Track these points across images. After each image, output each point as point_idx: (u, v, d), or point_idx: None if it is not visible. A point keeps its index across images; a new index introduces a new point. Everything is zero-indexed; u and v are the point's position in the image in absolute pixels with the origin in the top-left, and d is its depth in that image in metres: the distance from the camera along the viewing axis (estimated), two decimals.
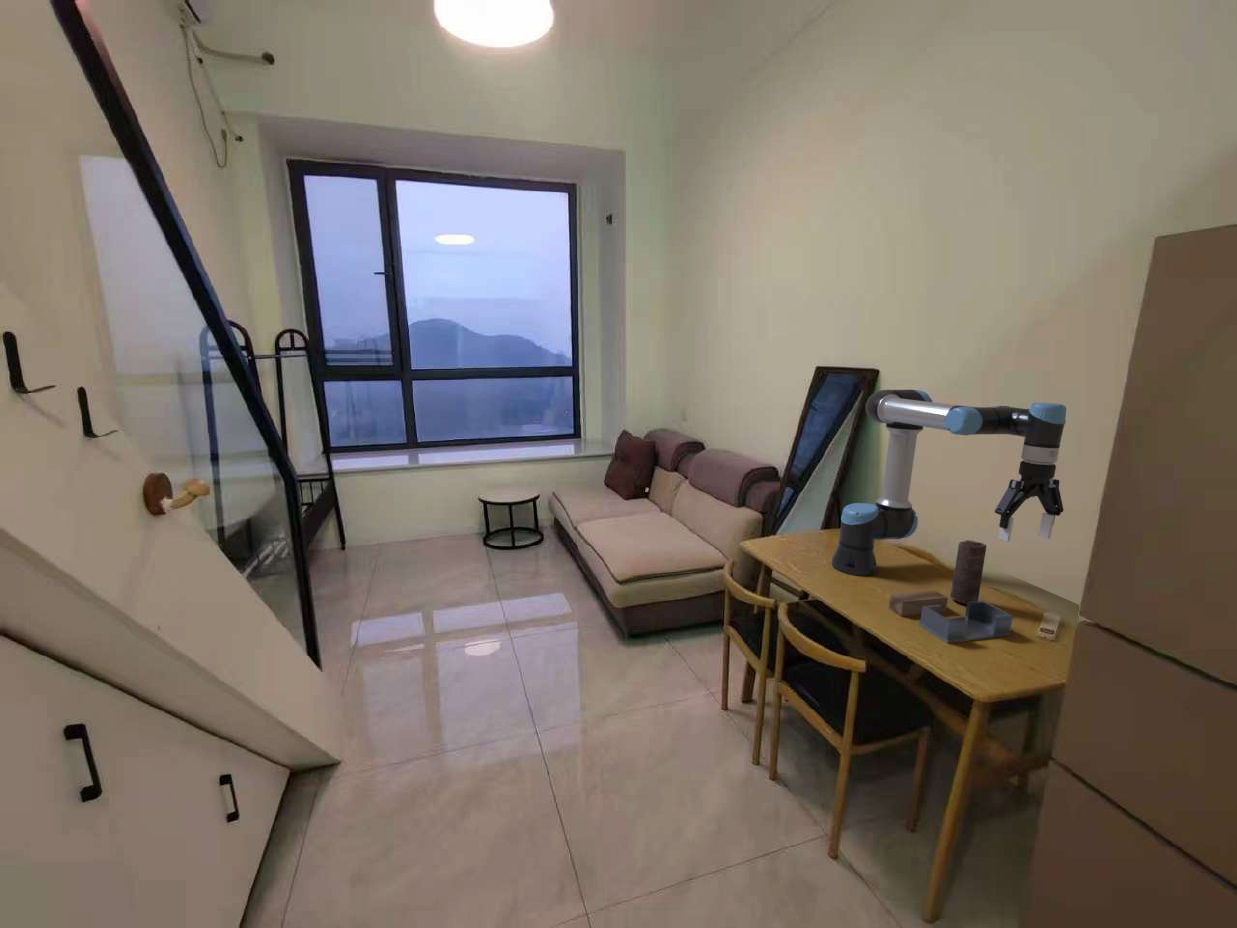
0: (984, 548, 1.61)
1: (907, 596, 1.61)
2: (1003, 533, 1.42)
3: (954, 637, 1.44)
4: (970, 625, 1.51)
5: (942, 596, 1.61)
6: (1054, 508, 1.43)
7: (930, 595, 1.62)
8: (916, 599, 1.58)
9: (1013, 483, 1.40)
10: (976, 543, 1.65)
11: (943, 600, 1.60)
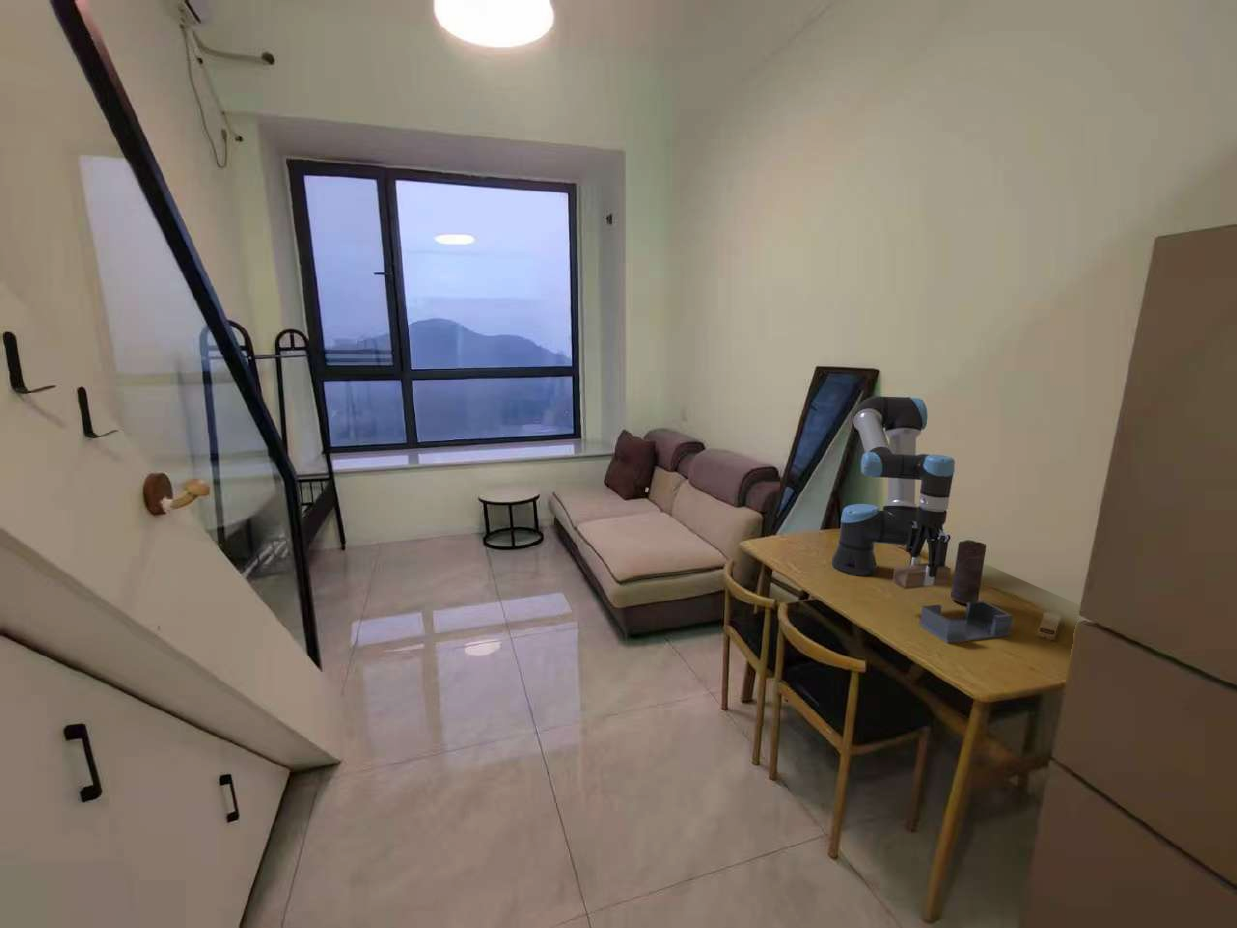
0: (984, 548, 1.61)
1: (911, 568, 1.59)
2: None
3: (954, 637, 1.44)
4: (970, 625, 1.51)
5: (945, 567, 1.60)
6: (931, 559, 1.55)
7: None
8: (920, 571, 1.57)
9: None
10: (976, 543, 1.65)
11: (946, 572, 1.59)
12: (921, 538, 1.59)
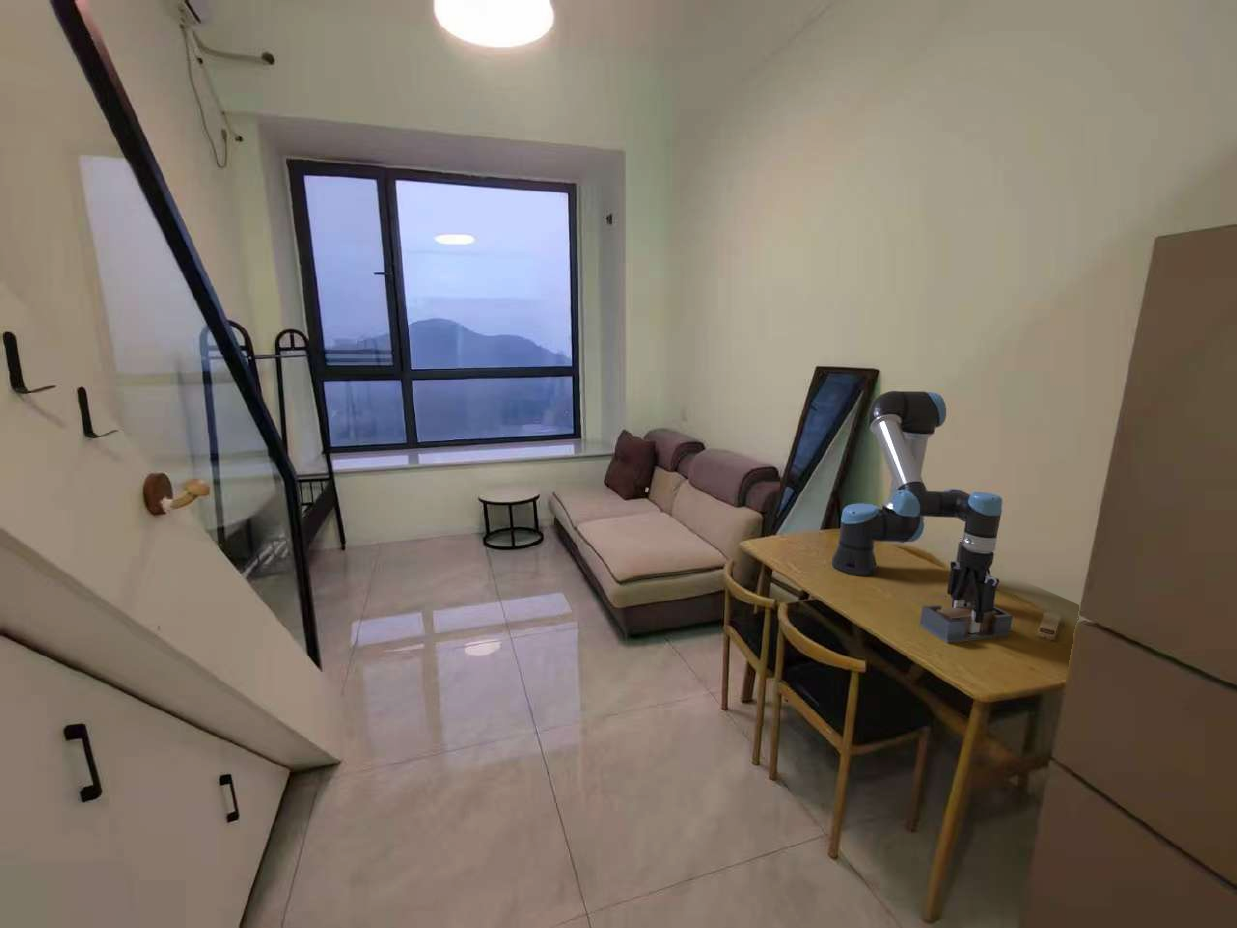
0: None
1: (954, 611, 1.49)
2: None
3: (954, 637, 1.44)
4: None
5: None
6: (977, 603, 1.45)
7: None
8: (965, 615, 1.46)
9: None
10: None
11: (992, 615, 1.49)
12: (965, 580, 1.49)
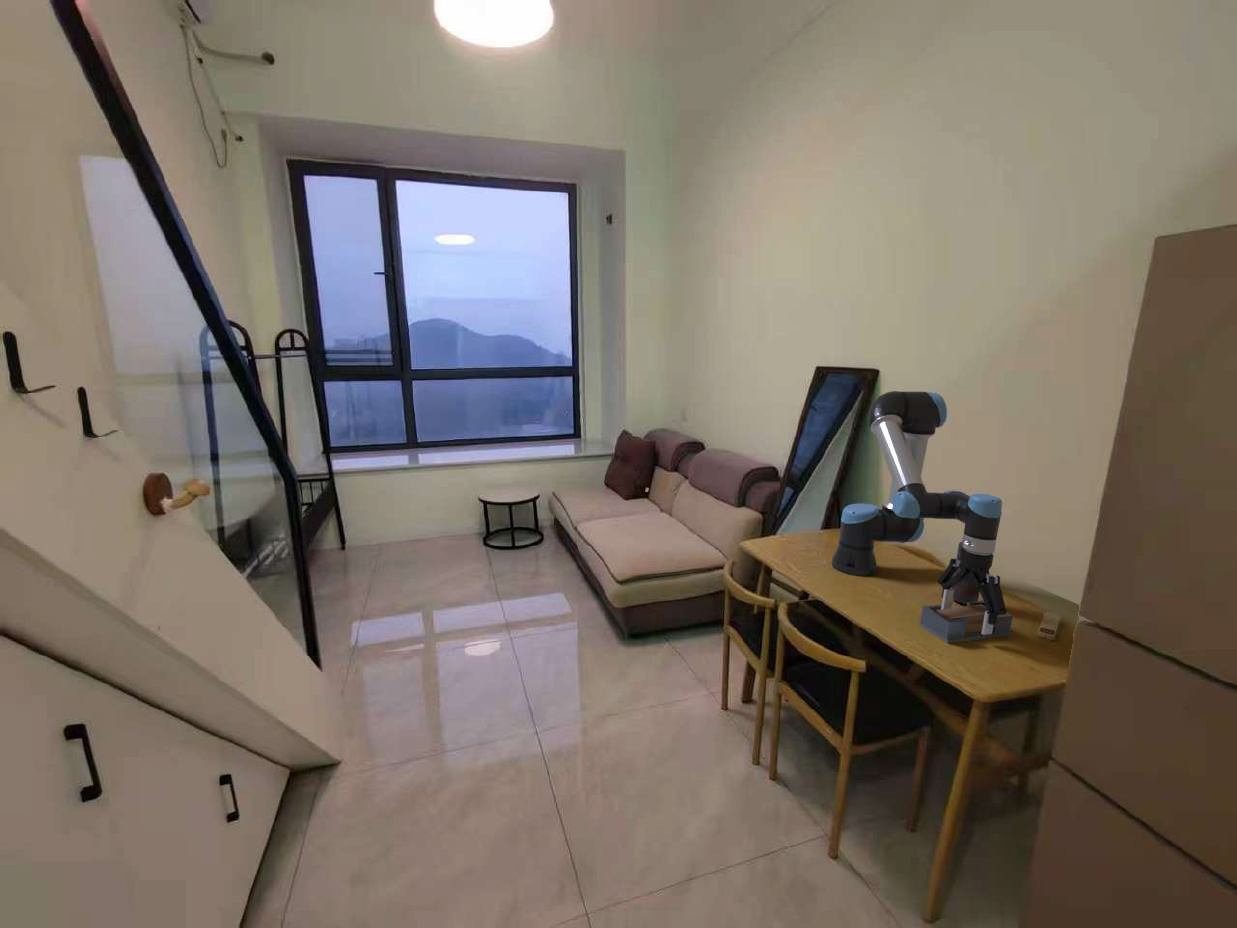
0: None
1: (954, 611, 1.49)
2: None
3: (954, 637, 1.44)
4: None
5: None
6: (988, 604, 1.41)
7: (978, 610, 1.50)
8: (965, 615, 1.46)
9: None
10: None
11: None
12: (960, 578, 1.50)
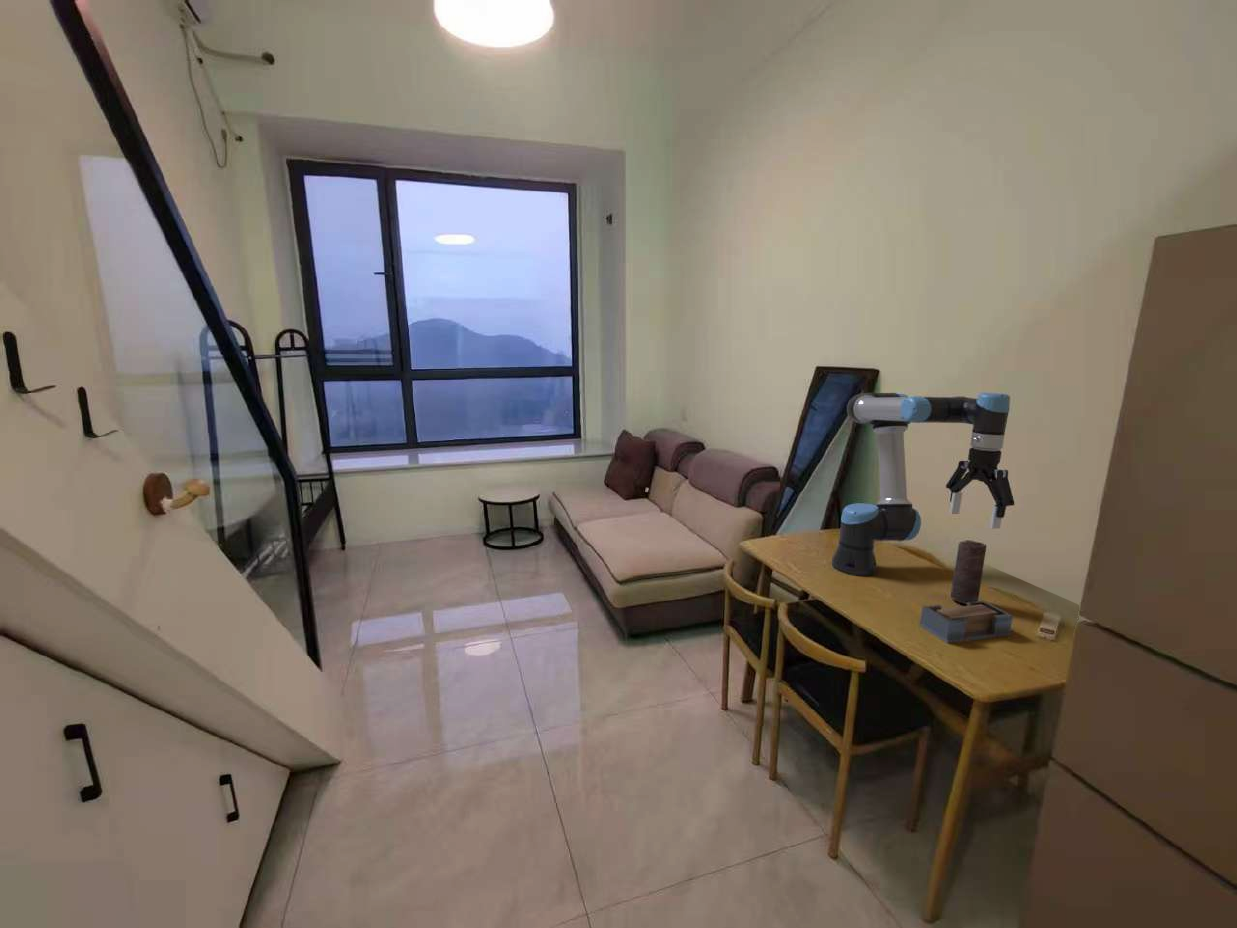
0: (984, 548, 1.61)
1: (954, 611, 1.49)
2: None
3: (954, 637, 1.44)
4: None
5: (991, 611, 1.49)
6: (996, 498, 1.45)
7: (978, 610, 1.50)
8: (965, 615, 1.46)
9: None
10: (976, 543, 1.65)
11: (992, 615, 1.49)
12: (969, 479, 1.54)
